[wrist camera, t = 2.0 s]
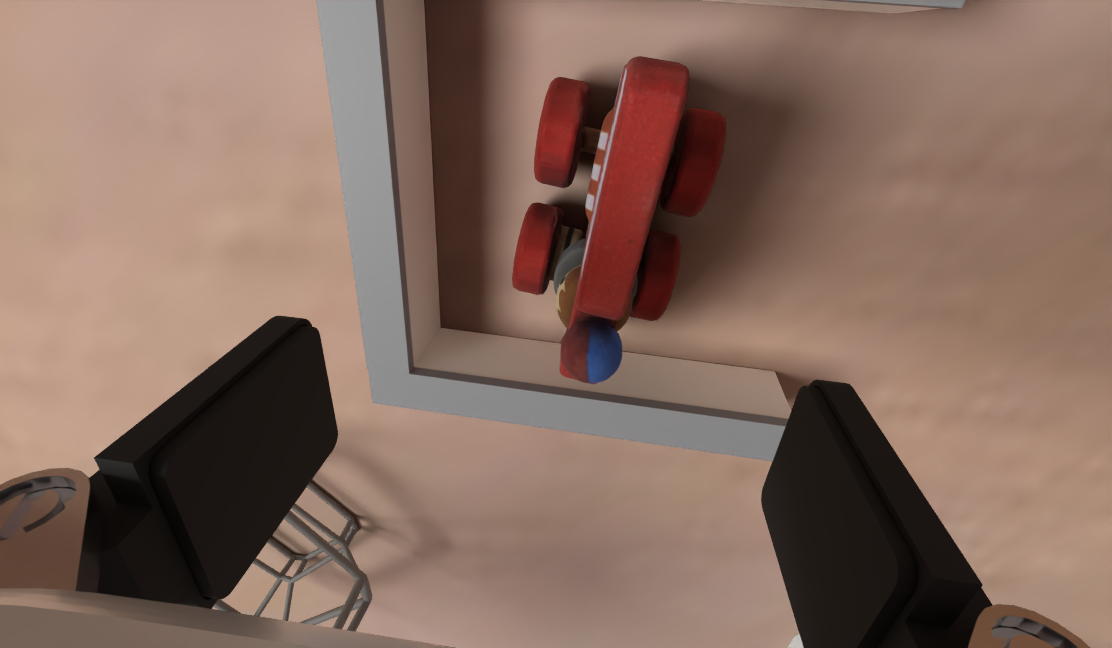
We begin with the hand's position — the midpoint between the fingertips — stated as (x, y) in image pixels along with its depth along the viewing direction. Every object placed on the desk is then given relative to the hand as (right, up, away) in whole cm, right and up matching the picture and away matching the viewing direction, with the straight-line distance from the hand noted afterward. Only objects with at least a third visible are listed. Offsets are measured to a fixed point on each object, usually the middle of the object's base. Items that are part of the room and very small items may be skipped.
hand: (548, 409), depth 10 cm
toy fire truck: (+3, +7, +14) cm, 16 cm away
